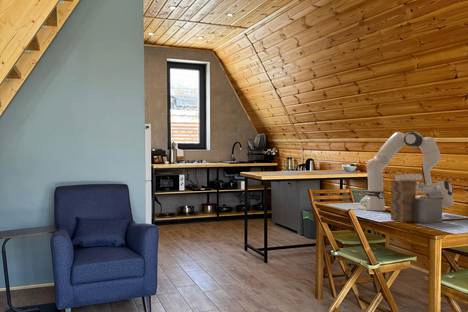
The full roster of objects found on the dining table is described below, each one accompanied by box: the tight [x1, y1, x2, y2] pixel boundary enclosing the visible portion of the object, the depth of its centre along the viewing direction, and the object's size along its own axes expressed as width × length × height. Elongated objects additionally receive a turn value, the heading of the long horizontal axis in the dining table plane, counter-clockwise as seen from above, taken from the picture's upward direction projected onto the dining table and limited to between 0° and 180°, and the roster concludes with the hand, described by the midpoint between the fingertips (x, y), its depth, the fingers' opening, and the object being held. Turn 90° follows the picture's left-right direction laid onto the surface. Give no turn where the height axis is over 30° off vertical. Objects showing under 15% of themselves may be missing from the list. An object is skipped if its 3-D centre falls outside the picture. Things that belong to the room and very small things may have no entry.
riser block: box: [412, 196, 443, 225], centre depth 279 cm, size 10×14×15 cm
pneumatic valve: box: [416, 194, 427, 198], centre depth 327 cm, size 6×12×12 cm, turn 9°
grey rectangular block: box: [394, 173, 423, 181], centre depth 287 cm, size 4×20×4 cm, turn 115°
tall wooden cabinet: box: [389, 179, 417, 223], centre depth 286 cm, size 11×12×26 cm
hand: (423, 183), depth 293 cm, fingers open, 8 cm apart
